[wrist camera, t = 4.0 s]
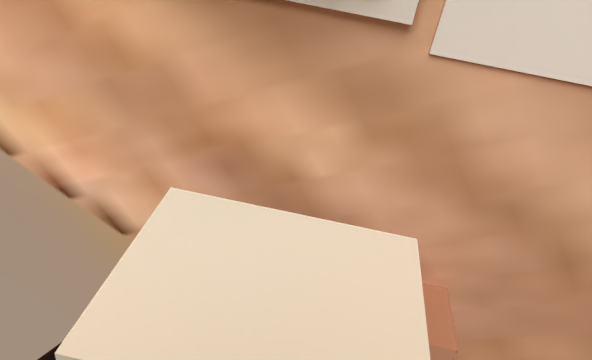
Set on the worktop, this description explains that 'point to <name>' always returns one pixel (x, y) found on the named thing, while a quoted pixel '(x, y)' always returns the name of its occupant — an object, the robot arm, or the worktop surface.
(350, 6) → the build plate
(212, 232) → the cream brick
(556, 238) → the worktop surface
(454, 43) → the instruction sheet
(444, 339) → the rust brick
